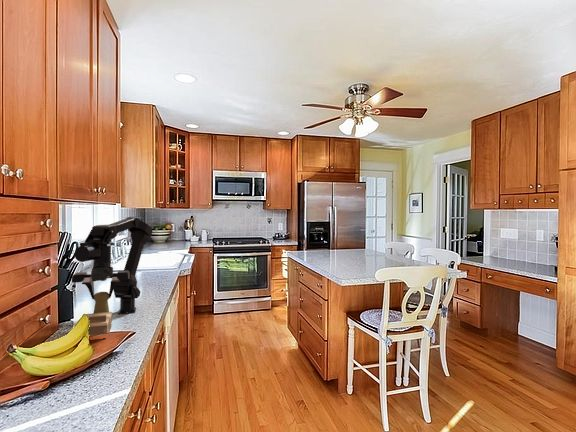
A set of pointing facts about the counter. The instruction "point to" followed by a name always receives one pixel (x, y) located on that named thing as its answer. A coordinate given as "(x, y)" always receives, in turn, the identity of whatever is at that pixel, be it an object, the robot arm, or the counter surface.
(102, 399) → the counter surface
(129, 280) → the robot arm
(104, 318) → the lid
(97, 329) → the toolbox
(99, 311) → the brown bottle
